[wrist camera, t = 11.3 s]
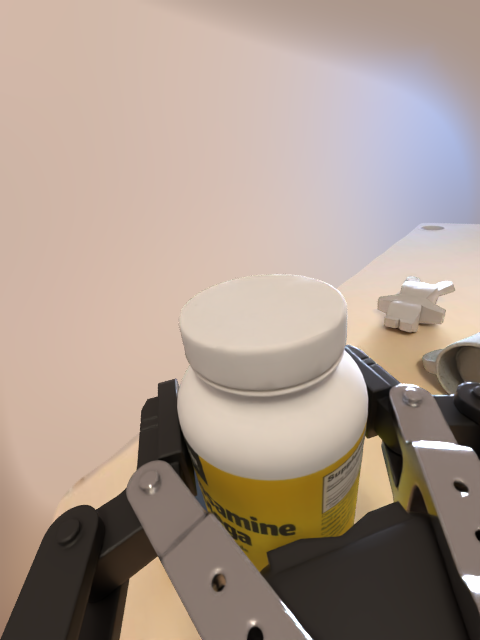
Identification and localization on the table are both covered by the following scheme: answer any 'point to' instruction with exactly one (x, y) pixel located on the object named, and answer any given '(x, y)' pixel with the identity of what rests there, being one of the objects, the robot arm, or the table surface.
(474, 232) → the table surface
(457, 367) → the ceramic mug
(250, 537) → the pill bottle
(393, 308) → the bunny figurine
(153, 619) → the table surface
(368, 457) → the table surface
